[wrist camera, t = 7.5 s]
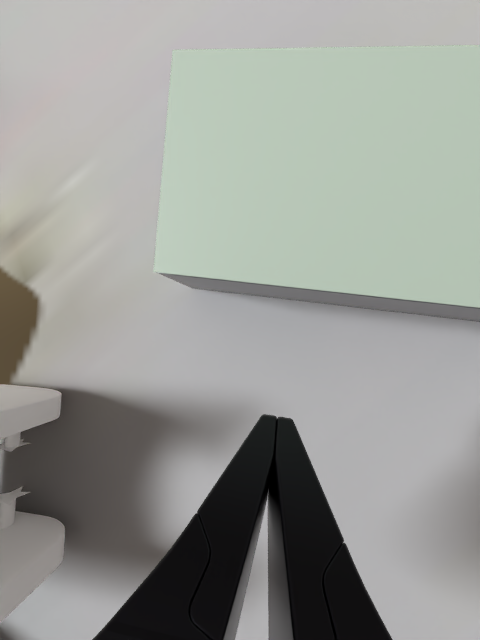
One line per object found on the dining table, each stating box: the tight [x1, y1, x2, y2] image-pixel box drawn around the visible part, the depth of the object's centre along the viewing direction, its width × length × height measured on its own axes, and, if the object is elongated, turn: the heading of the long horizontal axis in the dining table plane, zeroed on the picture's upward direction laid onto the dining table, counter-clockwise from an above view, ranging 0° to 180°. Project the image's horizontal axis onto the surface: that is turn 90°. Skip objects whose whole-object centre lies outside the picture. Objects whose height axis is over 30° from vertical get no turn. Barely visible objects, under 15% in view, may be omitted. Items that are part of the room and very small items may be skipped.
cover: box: [153, 45, 480, 308], centre depth 13 cm, size 9×18×1 cm, turn 82°
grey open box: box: [159, 273, 480, 321], centre depth 17 cm, size 9×18×5 cm, turn 82°
